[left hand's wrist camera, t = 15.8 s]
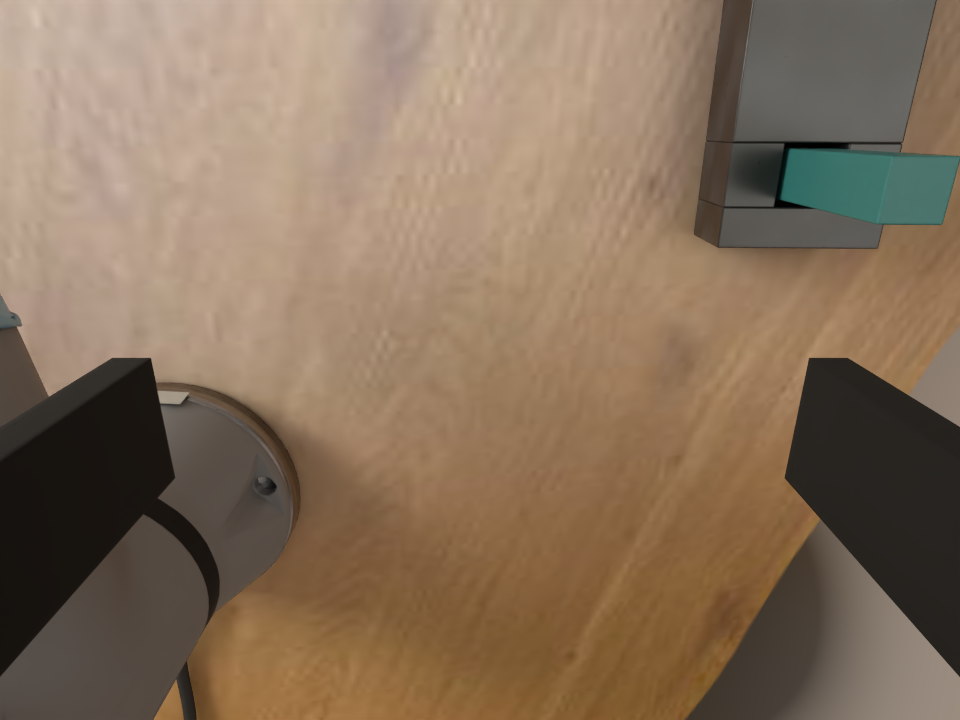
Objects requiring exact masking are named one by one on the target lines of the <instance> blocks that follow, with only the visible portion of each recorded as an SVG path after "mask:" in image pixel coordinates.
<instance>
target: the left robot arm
mask: <svg viewBox="0 0 960 720" xmlns="http://www.w3.org/2000/svg"><path fill="white" fill-rule="evenodd" d="M16 326H22V323H21V320H20V318H19V316H18V315H16V314H15V313H13V312H10V311H9V309H8V307H7V305H6V304H5V302H4V300H3V298H2V296H1V294H0V720H153V719H154V717H155V716H156V714H157V712H158V710H159V708H160V707H161V705H162V703H163V701H164V700H165V698H166V696H167V694H168V693H169V691H170V689H171V687H172V686H173V684H174V682H175V680H176V679H177V684H178V688H179V693H180V697H181V702H182V708H183V715H184V720H196V709H195V703H194V697H193V692H192V687H191V683H190V678H189V672H188V666H187V659H188V657H189V656H190V654H191V652H192V650H193V648H194V647H195V645H196V643H197V641H198V640H199V638H200V636H201V634H202V632H203V630H204V629H205V627H206V625H207V624H208V622H209V620H210V619H211V617H212V615H213V614H214V613H215V612H216V611H217V610H218V609H220V608H221V607H222V606H223V605H225V604H226V603H227V602H228V601H229V600H231V599H232V598H233V597H234V596H236V595H237V594H238V593H239V592H241V591H242V590H243V589H244V588H245V587H247V586H248V585H249V584H250V583H252V582H253V581H254V580H255V579H257V578H258V577H259V576H260V575H262V574H263V573H264V572H266V571H267V570H268V569H269V568H270V567H271V566H272V565H273V564H274V562H275V561H276V560H277V559H278V557H279V556H280V554H281V553H282V551H283V549H284V547H285V545H286V543H287V541H288V539H289V537H290V535H291V533H292V531H293V529H294V527H295V524H296V522H297V519H298V514H299V509H300V488H299V481H298V477H297V473H296V470H295V467H294V465H293V462H292V460H291V458H290V456H289V454H288V452H287V450H286V449H285V447H284V445H283V444H282V442H281V441H280V440H279V438H278V437H277V436H276V434H275V433H274V432H273V431H272V430H271V429H270V428H269V427H268V426H267V425H266V424H265V423H264V422H263V421H262V420H261V419H260V418H259V417H258V416H256V415H255V414H254V413H252V412H251V411H250V410H248V409H247V408H245V407H244V406H242V405H241V404H239V403H237V402H236V401H234V400H232V399H230V398H228V397H226V396H224V395H222V394H219V393H217V392H214V391H211V390H209V389H205V388H202V387H198V386H193V385H188V384H181V383H156V381H155V376H154V371H153V366H152V362H151V358H112V359H110V360H108V361H107V362H105V363H103V364H102V365H100V366H99V367H97V368H95V369H94V370H92V371H90V372H89V373H87V374H86V375H84V376H82V377H81V378H79V379H77V380H76V381H74V382H73V383H71V384H69V385H68V386H66V387H64V388H63V389H61V390H60V391H58V392H56V393H55V394H53V395H51V396H50V397H48V394H47V392H46V390H45V388H44V386H43V384H42V381H41V379H40V377H39V375H38V373H37V370H36V368H35V366H34V364H33V362H32V360H31V357H30V355H29V353H28V351H27V349H26V346H25V344H24V342H23V340H22V338H21V335H20V333H19V331H18V329H17V327H16ZM785 479H786V480H787V481H788V482H789V483H790V485H791V486H792V487H793V488H794V489H795V490H796V491H797V493H798V494H799V495H800V496H801V497H802V498H803V499H804V500H805V502H806V503H807V504H808V505H809V506H810V507H811V508H812V510H813V511H814V512H815V513H816V514H817V515H818V516H819V518H820V519H821V520H822V521H823V522H824V523H825V524H826V525H827V527H828V528H829V529H830V530H831V531H832V532H833V533H834V535H835V536H836V537H837V538H838V539H839V540H840V541H841V543H842V544H843V545H844V546H845V547H846V548H847V549H848V550H849V552H850V553H851V554H852V555H853V556H854V557H855V558H856V559H857V561H858V562H859V563H860V564H861V565H862V566H863V567H864V569H865V570H866V571H867V572H868V573H869V574H870V575H871V577H872V578H873V579H874V580H875V581H876V582H877V583H878V584H879V586H880V587H881V588H882V589H883V590H884V591H885V592H886V594H887V595H888V596H889V597H890V598H891V599H892V600H893V602H894V603H895V604H896V605H897V606H898V607H899V608H900V610H901V611H902V612H903V613H904V614H905V615H906V616H907V617H908V619H909V620H910V621H911V622H912V623H913V624H914V625H915V627H916V628H917V629H918V630H919V631H920V632H921V633H922V634H923V636H924V637H925V638H926V639H927V640H928V641H929V642H930V644H931V645H932V646H933V647H934V648H935V649H936V650H937V652H938V653H939V654H940V655H941V656H942V657H943V658H944V659H945V661H946V662H947V663H948V664H949V665H950V666H951V667H952V669H953V670H954V671H955V672H956V673H957V674H958V675H959V676H960V427H959V426H957V425H956V424H954V423H952V422H951V421H949V420H948V419H946V418H944V417H943V416H941V415H939V414H938V413H936V412H935V411H933V410H931V409H930V408H928V407H926V406H925V405H923V404H922V403H920V402H918V401H917V400H915V399H913V398H912V397H910V396H909V395H907V394H905V393H904V392H902V391H900V390H899V389H897V388H896V387H894V386H892V385H891V384H889V383H887V382H886V381H884V380H883V379H881V378H879V377H878V376H876V375H874V374H873V373H871V372H870V371H868V370H866V369H865V368H863V367H861V366H860V365H858V364H857V363H855V362H853V361H852V360H850V359H848V358H809V362H808V366H807V371H806V376H805V381H804V386H803V391H802V396H801V401H800V405H799V410H798V415H797V420H796V425H795V430H794V435H793V440H792V445H791V449H790V454H789V459H788V464H787V469H786V474H785Z"/></svg>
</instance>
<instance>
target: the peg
mask: <svg viewBox="0 0 960 720" xmlns="http://www.w3.org/2000/svg"><path fill="white" fill-rule="evenodd" d="M959 161H960V157H959V156H950V155H933V154H916V153H900V152H883V151H866V150H850V149H833V148H816V147H784V152H783V157H782V163H781V169H780V175H779V181H778V186H777V192H776V198H775V199H779V200H783V201H787V202H791V203H795V204H798V205H802V206H806V207H810V208H814V209H818V210H822V211H826V212H830V213H834V214H838V215H842V216H846V217H850V218H854V219H857V220H861V221H865V222H869V223H873V224H877V225H941V224H942V223H943V220H944V217H945V213H946V209H947V206H948V202H949V198H950V195H951V191H952V187H953V184H954V180H955V176H956V172H957V169H958V165H959Z"/></svg>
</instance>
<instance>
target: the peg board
mask: <svg viewBox="0 0 960 720" xmlns="http://www.w3.org/2000/svg"><path fill="white" fill-rule="evenodd" d="M936 1H937V0H724V4H723V12H722V20H721V27H720V35H719V43H718V51H717V59H716V66H715V74H714V82H713V90H712V98H711V106H710V113H709V121H708V129H707V137H706V144H705V152H704V159H703V167H702V175H701V183H700V191H699V200H698V207H697V214H696V222H695V230H694V235H696V236H698V237H699V238H701V239H703V240H705V241H707V242H709V243H711V244H712V245H714V246H716V247H718V248H835V249H877V248H878V245H879V241H880V237H881V233H882V229H883V225H877V224H873V223H869V222H865V221H861V220H857V219H854V218H850V217H846V216H842V215H838V214H834V213H830V212H826V211H822V210H818V209H814V208H810V207H806V206H802V205H798V204H795V203H791V202H787V201H783V200H779V199H775V198H776V192H777V186H778V181H779V175H780V169H781V163H782V157H783V152H784V146H785V143H810V144H809V147H816V148H833V149H850V150H866V151H883V152H901V148H902V144H901V143H902V142H903V140H904V136H905V131H906V127H907V123H908V119H909V115H910V110H911V106H912V102H913V98H914V94H915V89H916V85H917V81H918V77H919V72H920V68H921V64H922V60H923V56H924V51H925V47H926V43H927V39H928V35H929V30H930V26H931V22H932V18H933V14H934V9H935V5H936Z"/></svg>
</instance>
